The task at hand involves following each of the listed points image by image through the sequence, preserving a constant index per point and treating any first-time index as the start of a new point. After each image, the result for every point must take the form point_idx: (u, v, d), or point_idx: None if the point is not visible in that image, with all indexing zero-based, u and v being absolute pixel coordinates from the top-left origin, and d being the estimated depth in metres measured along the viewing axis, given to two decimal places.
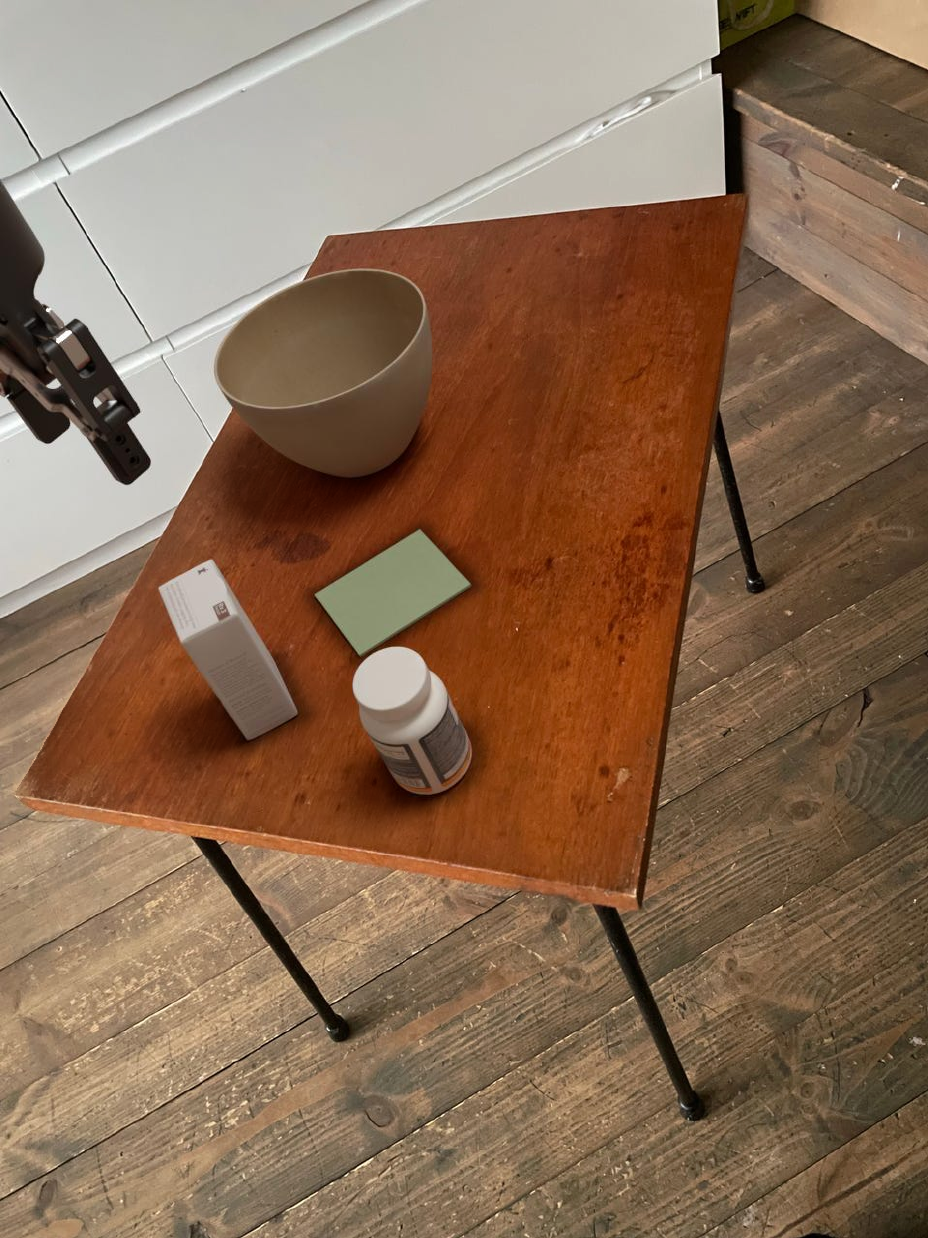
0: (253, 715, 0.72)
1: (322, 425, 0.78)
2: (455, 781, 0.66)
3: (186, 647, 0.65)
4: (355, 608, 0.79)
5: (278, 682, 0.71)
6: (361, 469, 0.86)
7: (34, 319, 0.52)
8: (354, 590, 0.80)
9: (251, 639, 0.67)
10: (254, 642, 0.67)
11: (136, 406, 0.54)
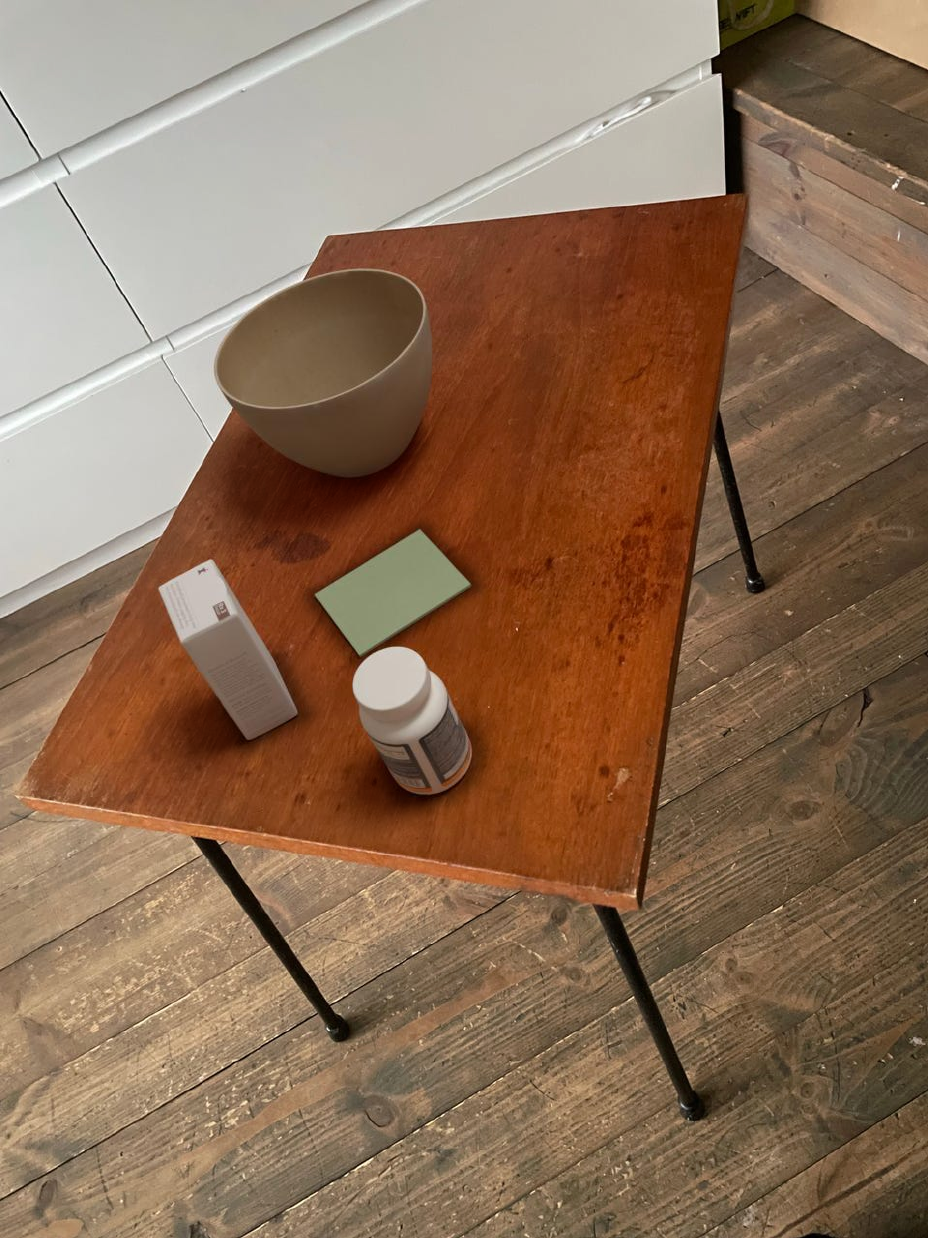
0: (253, 715, 0.72)
1: (322, 425, 0.78)
2: (455, 781, 0.66)
3: (186, 647, 0.65)
4: (355, 608, 0.79)
5: (278, 682, 0.71)
6: (361, 469, 0.86)
7: None
8: (354, 590, 0.80)
9: (251, 639, 0.67)
10: (254, 642, 0.67)
11: None
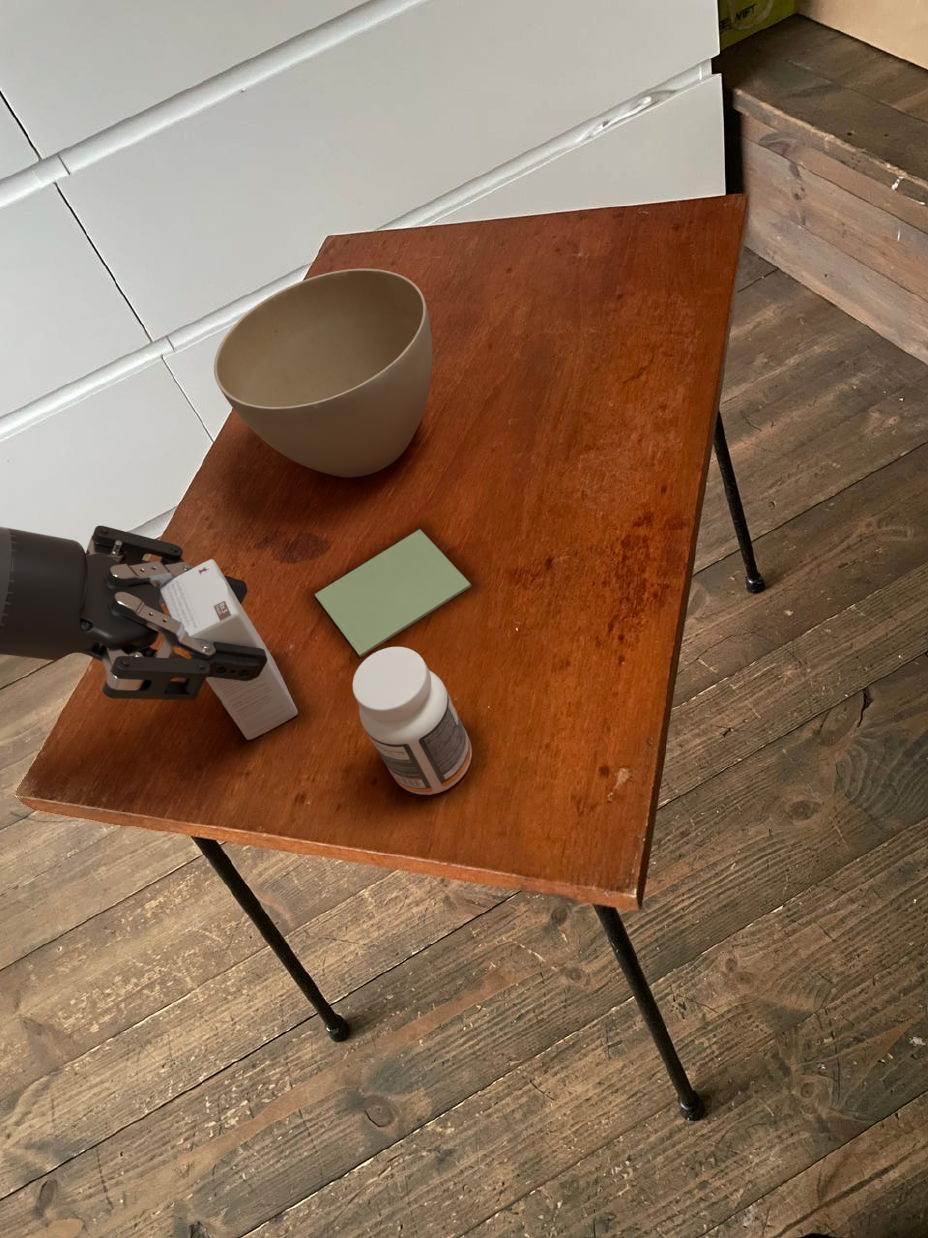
0: (253, 715, 0.72)
1: (322, 425, 0.78)
2: (455, 781, 0.66)
3: None
4: (355, 608, 0.79)
5: (278, 682, 0.71)
6: (361, 469, 0.86)
7: None
8: (354, 590, 0.80)
9: (252, 639, 0.67)
10: (255, 642, 0.67)
11: None
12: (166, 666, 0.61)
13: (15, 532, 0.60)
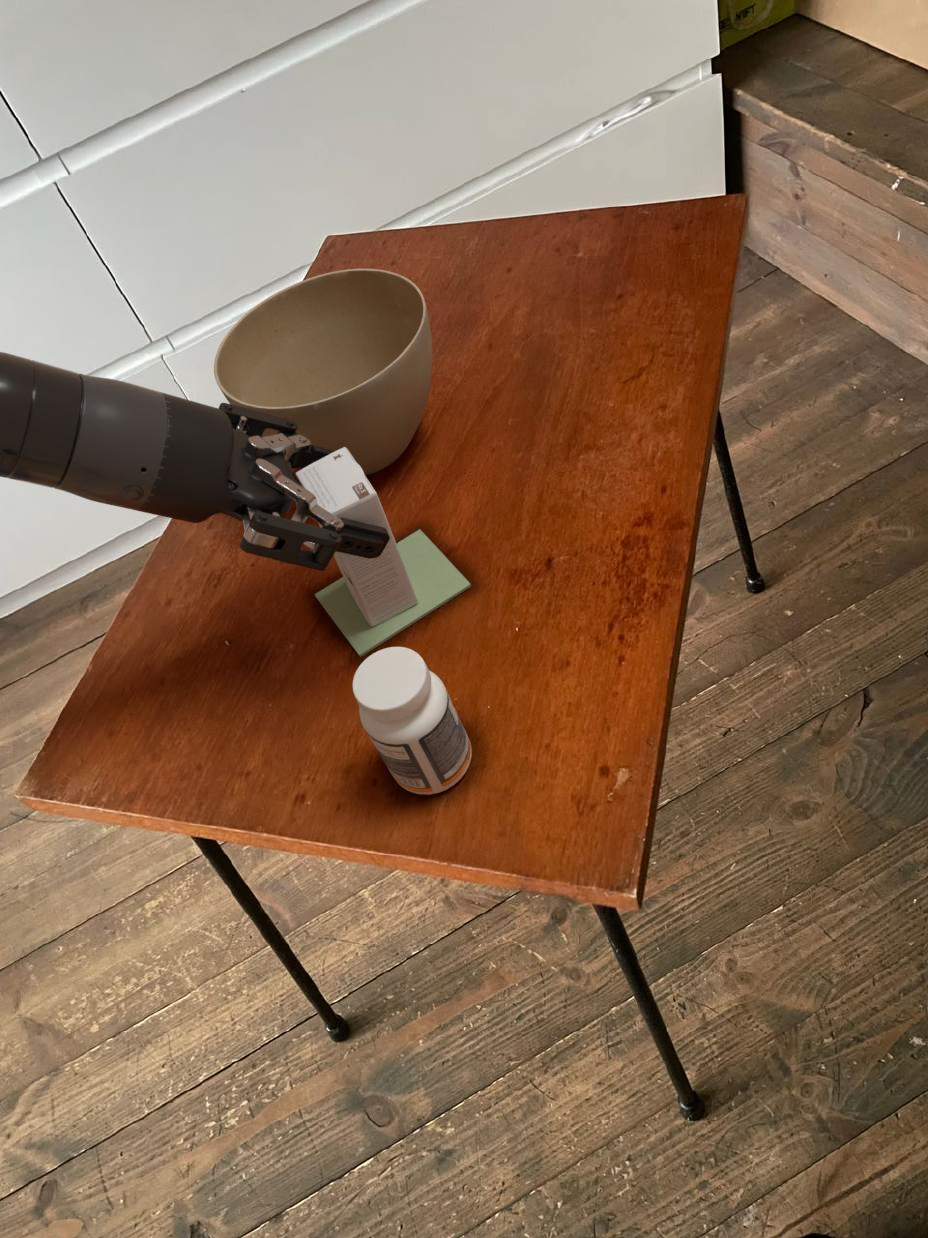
0: (378, 600, 0.75)
1: (322, 425, 0.78)
2: (455, 781, 0.66)
3: None
4: (355, 608, 0.79)
5: (404, 567, 0.74)
6: None
7: None
8: None
9: (385, 520, 0.70)
10: (388, 524, 0.71)
11: None
12: (301, 528, 0.63)
13: (167, 394, 0.63)
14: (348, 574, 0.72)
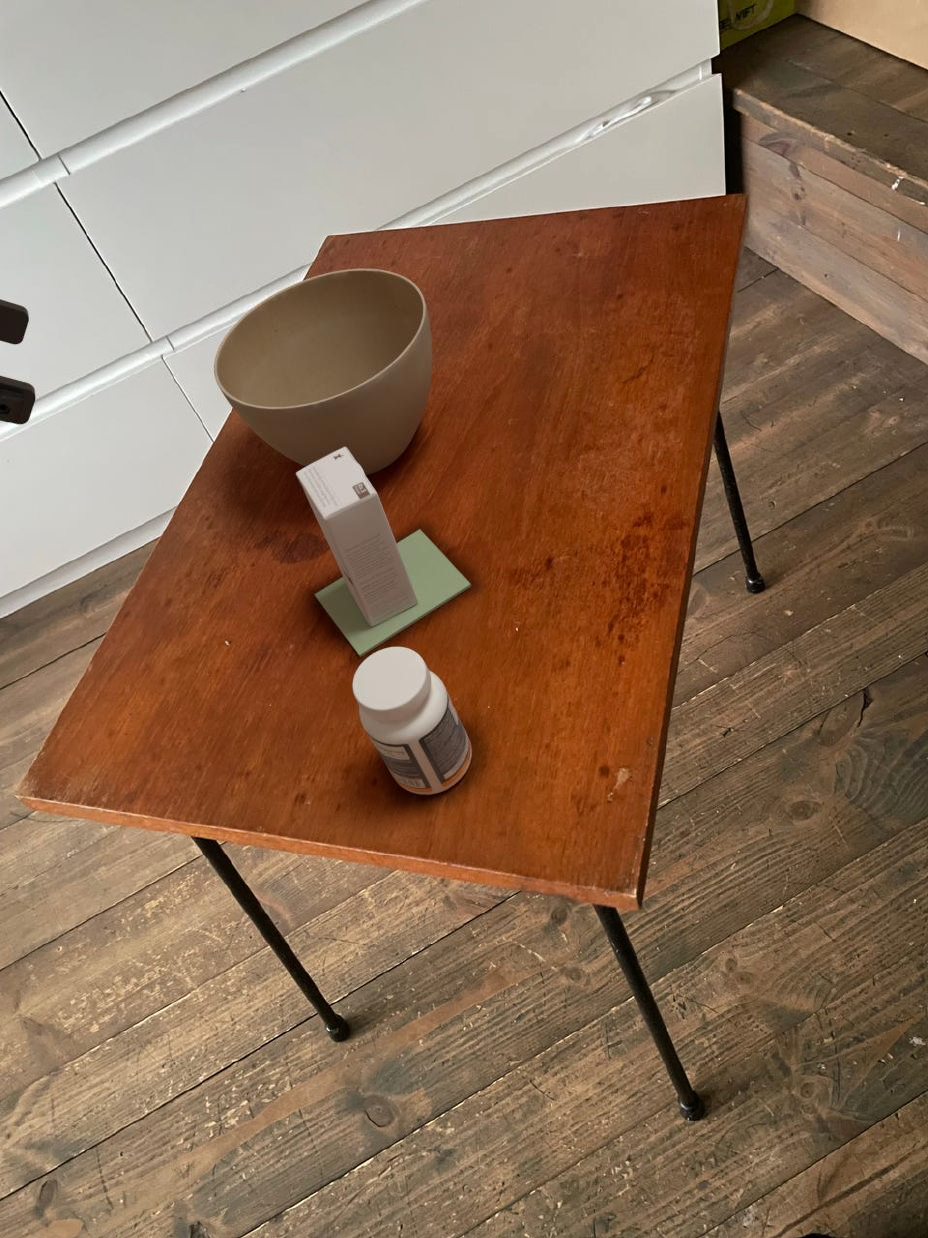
0: (378, 600, 0.75)
1: (322, 425, 0.78)
2: (455, 781, 0.66)
3: (328, 524, 0.68)
4: (355, 608, 0.79)
5: (404, 567, 0.74)
6: None
7: None
8: None
9: (386, 520, 0.70)
10: (388, 524, 0.71)
11: None
12: None
13: None
14: (348, 574, 0.72)
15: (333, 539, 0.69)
